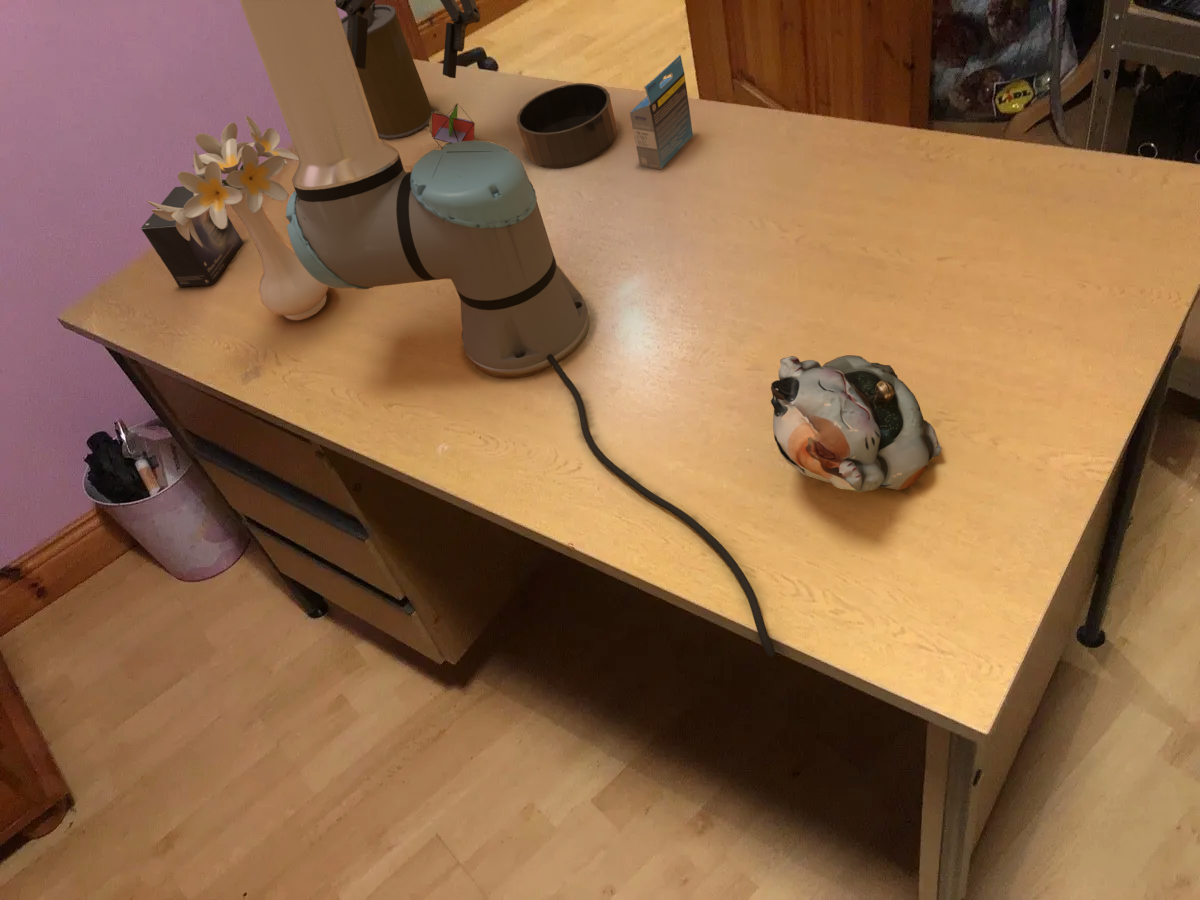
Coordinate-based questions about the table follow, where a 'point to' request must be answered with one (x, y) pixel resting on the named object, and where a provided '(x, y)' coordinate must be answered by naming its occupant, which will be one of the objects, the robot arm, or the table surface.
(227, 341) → the table surface
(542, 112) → the round brown bowl
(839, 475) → the lucky cat figurine
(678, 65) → the label tape box
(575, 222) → the table surface
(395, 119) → the canister
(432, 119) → the geometric puzzle
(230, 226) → the small box
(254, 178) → the flower vase
